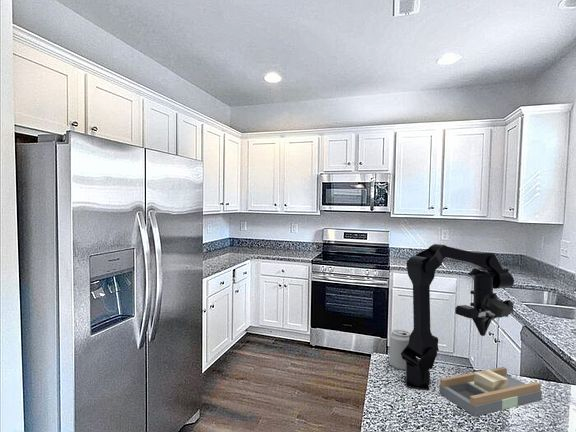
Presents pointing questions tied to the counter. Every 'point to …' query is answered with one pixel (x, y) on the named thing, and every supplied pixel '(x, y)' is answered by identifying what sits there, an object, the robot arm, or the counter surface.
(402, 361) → the can
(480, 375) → the maple block
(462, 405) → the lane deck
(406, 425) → the counter surface
